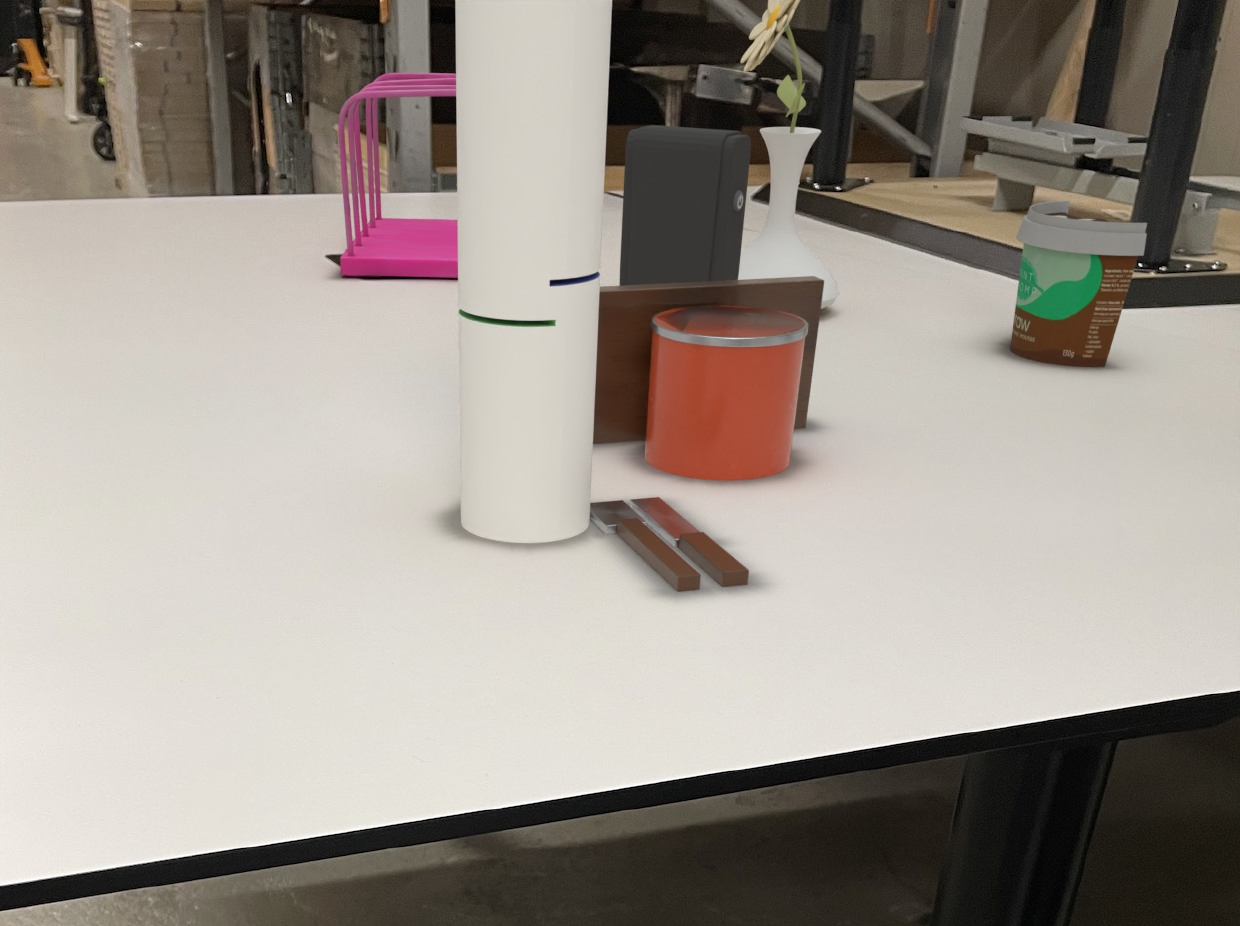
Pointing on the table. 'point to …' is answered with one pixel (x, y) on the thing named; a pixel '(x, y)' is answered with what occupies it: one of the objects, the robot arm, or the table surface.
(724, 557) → the cutlery
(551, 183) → the cylindrical container
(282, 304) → the table surface
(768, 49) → the flower in vase
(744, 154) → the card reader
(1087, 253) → the food container
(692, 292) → the wooden board
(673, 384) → the tin can
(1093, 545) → the table surface
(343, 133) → the file sorter
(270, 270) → the table surface
